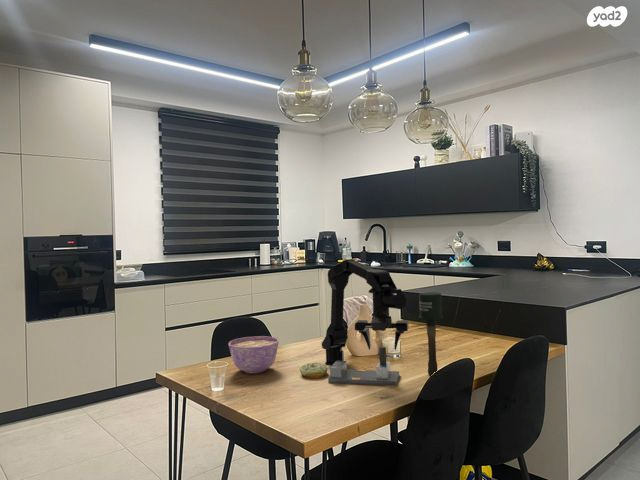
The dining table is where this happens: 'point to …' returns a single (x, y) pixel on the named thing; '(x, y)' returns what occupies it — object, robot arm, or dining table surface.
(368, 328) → the robot arm
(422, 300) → the stick grenade
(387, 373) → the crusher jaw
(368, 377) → the base
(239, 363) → the bowl of food
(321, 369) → the decorated donut
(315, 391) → the dining table surface
